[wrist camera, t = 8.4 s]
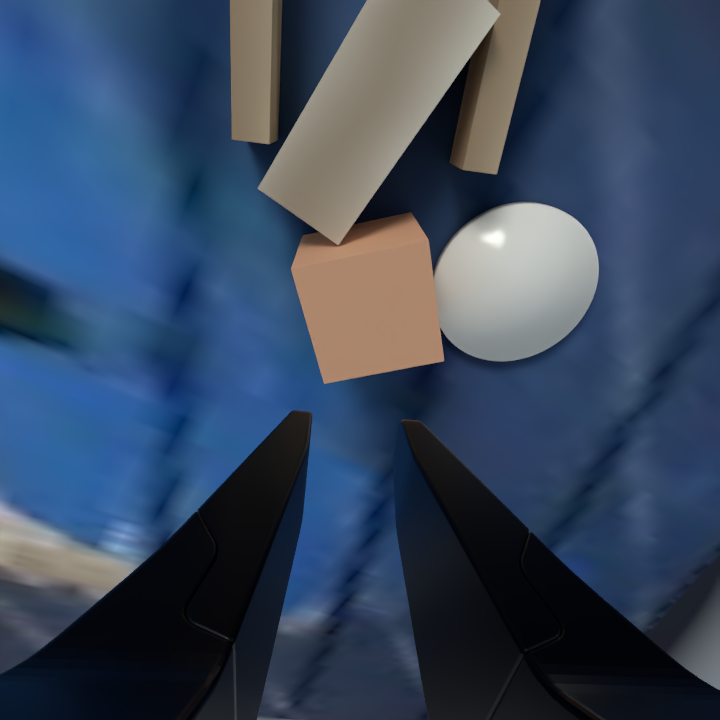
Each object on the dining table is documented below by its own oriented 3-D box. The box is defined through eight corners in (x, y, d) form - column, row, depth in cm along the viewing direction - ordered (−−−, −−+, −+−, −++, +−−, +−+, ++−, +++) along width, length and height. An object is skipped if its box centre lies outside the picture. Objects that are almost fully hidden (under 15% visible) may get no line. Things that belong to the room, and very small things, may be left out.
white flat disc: (618, 212, 18) (626, 215, 18) (559, 361, 22) (565, 368, 21) (450, 191, 18) (453, 193, 17) (417, 347, 21) (419, 354, 21)
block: (410, 211, 18) (428, 240, 14) (425, 312, 20) (444, 361, 16) (302, 235, 18) (291, 268, 15) (328, 331, 21) (324, 383, 17)
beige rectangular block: (472, 30, 15) (500, 13, 13) (339, 224, 18) (338, 245, 16) (399, -42, 14) (412, -78, 12) (271, 175, 17) (257, 188, 15)
